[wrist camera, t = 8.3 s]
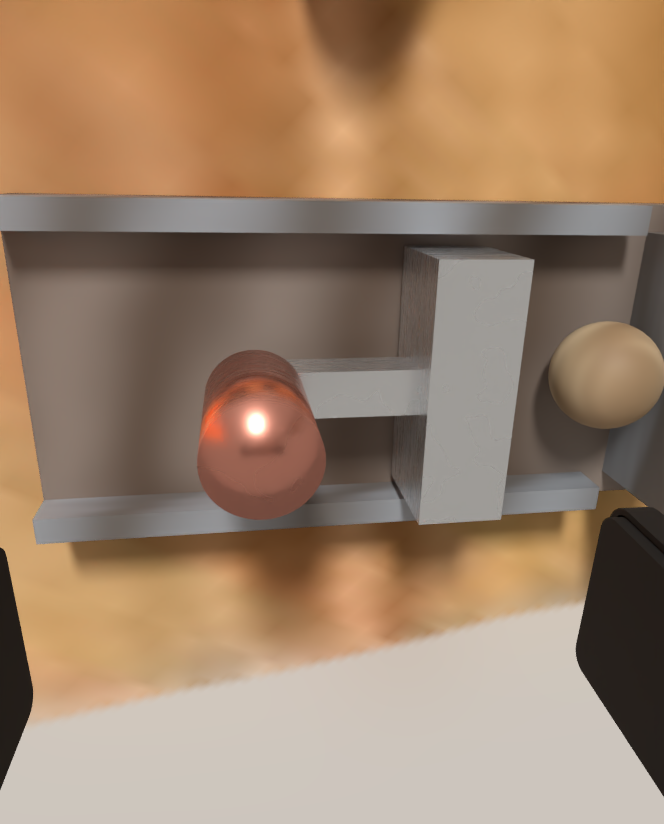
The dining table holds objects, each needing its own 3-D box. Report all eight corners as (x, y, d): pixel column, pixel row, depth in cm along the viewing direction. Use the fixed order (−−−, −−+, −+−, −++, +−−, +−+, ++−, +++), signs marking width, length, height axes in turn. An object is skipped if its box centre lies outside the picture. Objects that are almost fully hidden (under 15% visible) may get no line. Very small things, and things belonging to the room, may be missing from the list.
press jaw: (484, 245, 23) (608, 279, 15) (462, 470, 26) (555, 588, 18) (200, 244, 21) (185, 281, 14) (213, 483, 24) (206, 617, 17)
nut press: (674, 203, 25) (843, 214, 18) (620, 473, 29) (741, 566, 22) (10, 193, 21) (-95, 201, 14) (57, 504, 26) (-7, 626, 19)
